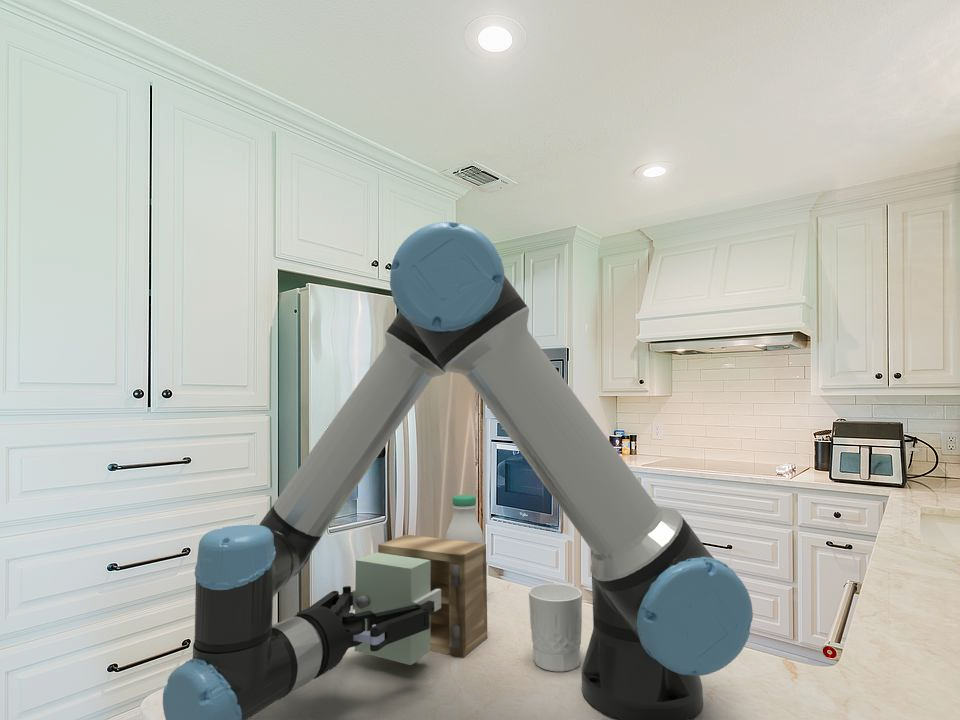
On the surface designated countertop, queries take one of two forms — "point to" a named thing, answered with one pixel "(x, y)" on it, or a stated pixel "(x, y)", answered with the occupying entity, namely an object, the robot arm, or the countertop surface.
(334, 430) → the robot arm
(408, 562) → the door panel
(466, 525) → the milk bottle
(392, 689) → the countertop surface
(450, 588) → the cabinet
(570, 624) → the white cup
